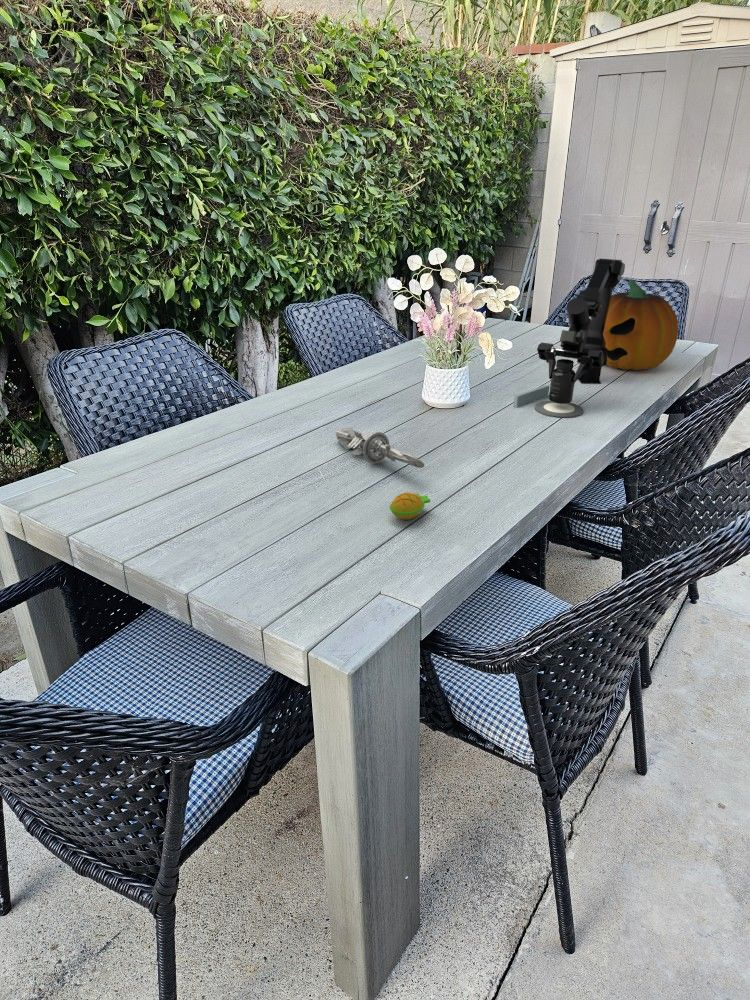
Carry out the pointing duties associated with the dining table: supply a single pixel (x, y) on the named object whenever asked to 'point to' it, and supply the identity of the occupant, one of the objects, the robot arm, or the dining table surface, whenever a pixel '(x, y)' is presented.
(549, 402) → the mat
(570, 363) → the supplement bottle
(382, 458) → the spaceship
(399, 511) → the orange green rounded piece
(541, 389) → the acrylic wall
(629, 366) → the decorative pumpkin
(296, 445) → the dining table surface
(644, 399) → the dining table surface
